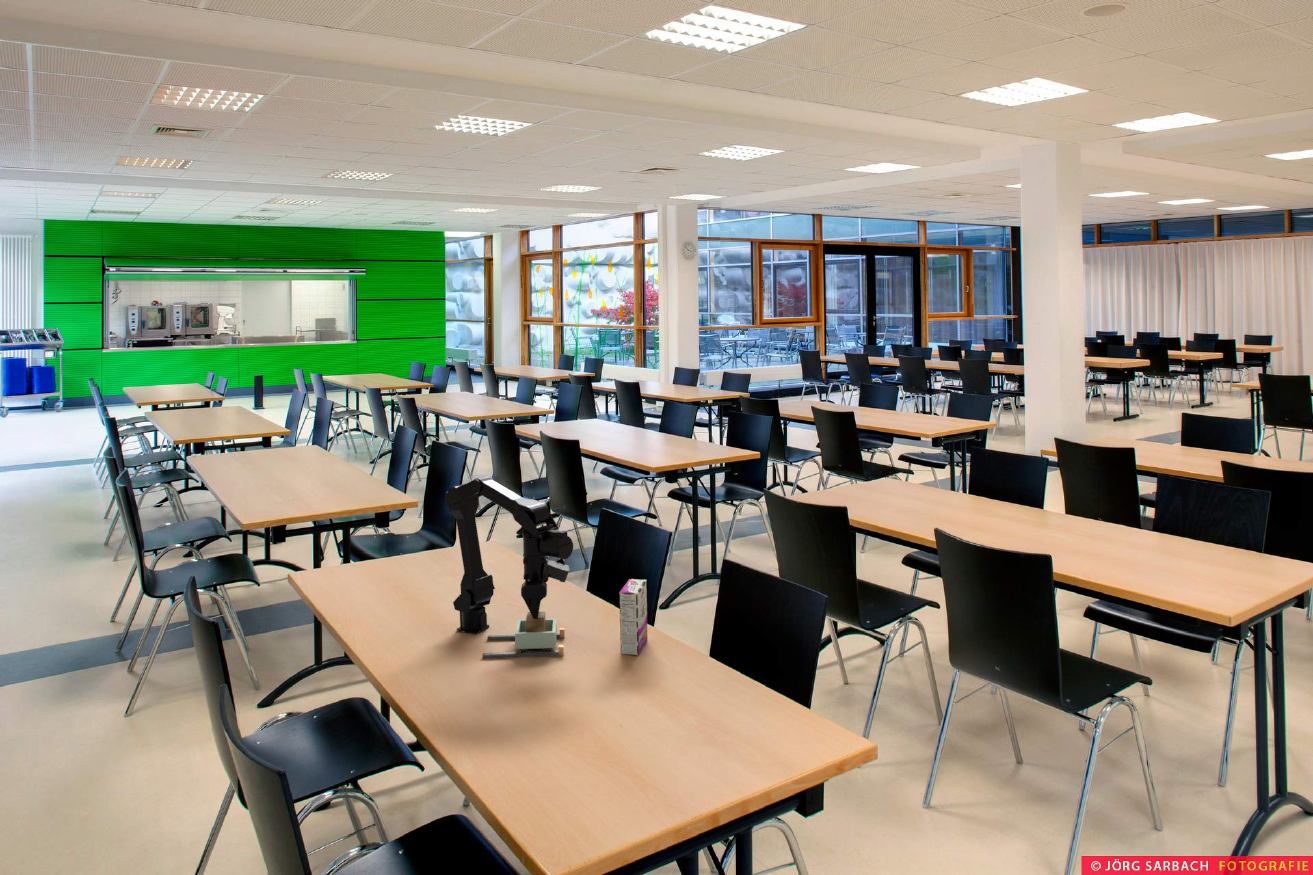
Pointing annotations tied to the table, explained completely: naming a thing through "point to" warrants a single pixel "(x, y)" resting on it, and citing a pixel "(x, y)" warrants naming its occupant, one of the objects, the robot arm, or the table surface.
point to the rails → (523, 654)
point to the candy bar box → (633, 616)
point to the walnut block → (536, 623)
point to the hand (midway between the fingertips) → (536, 612)
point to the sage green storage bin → (536, 636)
